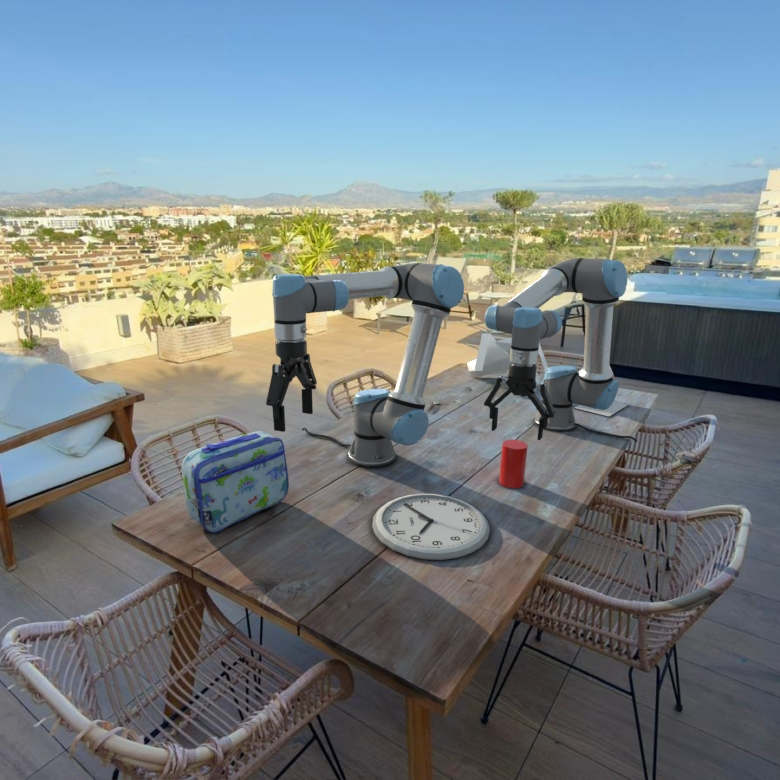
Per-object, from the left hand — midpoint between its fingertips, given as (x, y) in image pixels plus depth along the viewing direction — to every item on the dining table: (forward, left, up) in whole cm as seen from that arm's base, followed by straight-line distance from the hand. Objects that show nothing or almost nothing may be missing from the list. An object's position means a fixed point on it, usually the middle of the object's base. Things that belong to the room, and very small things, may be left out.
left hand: (294, 421), depth 133 cm
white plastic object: (+33, +144, -25) cm, 149 cm away
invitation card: (+77, +125, -25) cm, 149 cm away
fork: (+10, +96, -25) cm, 99 cm away
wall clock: (+35, +6, -25) cm, 44 cm away
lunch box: (-13, -8, -25) cm, 29 cm away
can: (+51, +38, -25) cm, 69 cm away
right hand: (+51, +38, -9) cm, 65 cm away
